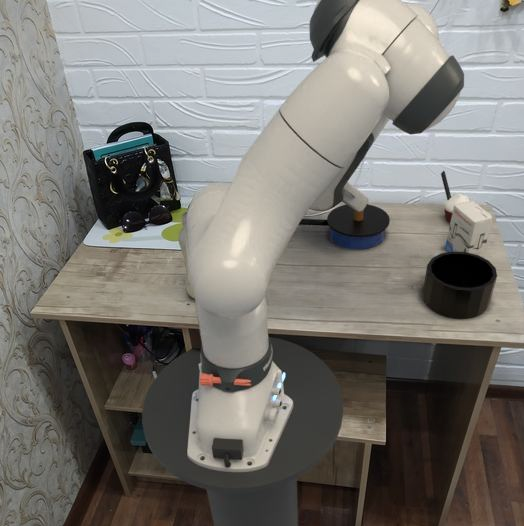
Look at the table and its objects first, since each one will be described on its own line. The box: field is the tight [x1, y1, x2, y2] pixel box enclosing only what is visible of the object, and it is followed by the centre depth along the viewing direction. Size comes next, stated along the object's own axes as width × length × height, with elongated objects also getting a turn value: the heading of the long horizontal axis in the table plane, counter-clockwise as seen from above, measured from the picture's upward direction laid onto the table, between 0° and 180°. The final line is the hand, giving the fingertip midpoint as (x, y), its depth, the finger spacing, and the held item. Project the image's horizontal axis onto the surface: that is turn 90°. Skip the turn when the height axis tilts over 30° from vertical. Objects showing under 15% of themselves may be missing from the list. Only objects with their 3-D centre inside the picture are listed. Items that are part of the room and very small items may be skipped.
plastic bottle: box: [177, 211, 195, 300], centre depth 121 cm, size 6×7×20 cm
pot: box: [422, 251, 498, 320], centre depth 120 cm, size 14×14×8 cm
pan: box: [328, 227, 386, 251], centre depth 141 cm, size 14×14×4 cm
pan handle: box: [298, 218, 329, 227], centre depth 143 cm, size 2×11×2 cm, turn 81°
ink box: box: [444, 200, 494, 258], centre depth 130 cm, size 9×5×12 cm, turn 18°
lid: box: [326, 203, 391, 237], centre depth 139 cm, size 15×15×6 cm
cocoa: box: [440, 170, 471, 223], centre depth 141 cm, size 10×6×12 cm, turn 32°
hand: (349, 199), depth 135 cm, fingers open, 8 cm apart
